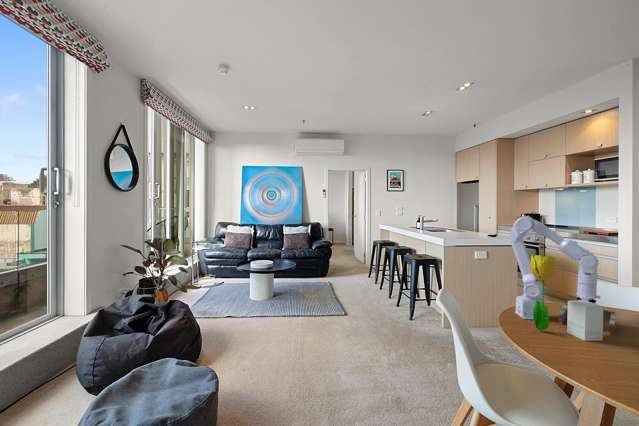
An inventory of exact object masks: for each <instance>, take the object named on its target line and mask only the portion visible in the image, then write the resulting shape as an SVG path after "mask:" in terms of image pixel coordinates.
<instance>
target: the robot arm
mask: <svg viewBox="0 0 639 426" xmlns="http://www.w3.org/2000/svg"><path fill="white" fill-rule="evenodd" d="M530 231H531V232H533V233H538V234H541V235H542V236H544V237H545V238H547V239H549V240H550V241H551V242H553V243H554V244H556V245H558V250H559V251H561V253H563V254H565V255H566V256H568V257H569V258H571V259H572V260H573V261H576V262H578V265H579V266H578V267H579V269H578V271H577V290H576V291H577V292H576V296H577V298H576V300H584V301H588V302H591V303H595V304H597V300H596V299H599V300H601V295H597V293H598V291H597V290H598V266H599V264H600V262H599V259H598V257H597V256H596V255H595V254H594V253H592V252H590V250H589V249H585V248H584V247H582V246H581V245H579V244H578V241H576V240H572V239H564V238H563V237H562V236H560V235H559V234H557V233H556V232H555V231H554V230H552V229H551V228H549V227H548V226H547V225H545V224H544V223H542V222H540V221H538V220H536V219H534V218H533V217H531V216H527V215H526V216H521V217H519V218H517V219H516V220H515V222H514V223H512V228H511V230H510V233H509V236H508V237H509V241H510V244H511V247H512V249H513V253H514V256H515V258H516V261H517V263H518V267H519V270H520V272H521V276H522V282H523V283H522V284H523V294H522V295H517V296H516V299H515V311H514V313H515V314H516V315H518V316H519V317H520V318H522V319H524V320H534V316H533V309H534V306H535V304H536V302H537V300H539V301H541V302H542V303H543V294H542V292H543V285H542V281H541V280H539V279H537V278H536V277H535V276H534V275H533V274H532V272H531V270H530V262H531V258H530V256H529V253H528V250H527V247H526V245H525V242H524V237H525V236H526V234H527V233H529V232H530Z"/></svg>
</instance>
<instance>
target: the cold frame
mask: <svg viewBox="0 0 639 426" xmlns="http://www.w3.org/2000/svg"><path fill="white" fill-rule="evenodd" d="M567 315H568V302H564V304H563V306H562V307H561V309H560V310H559V312H558V325H561V324H562V325H563V323H564V322H565V320H566V319H567ZM616 317H617V314H616V311H612V310H611V311H609V310H605V309H603V324H609V325H608V326H609V337H614V334H615V327H616Z"/></svg>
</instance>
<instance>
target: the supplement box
mask: <svg viewBox="0 0 639 426" xmlns="http://www.w3.org/2000/svg"><path fill="white" fill-rule="evenodd" d="M567 303H568V315H567V317H566V319H567V320H566V321H567V322H566V323H567V324H566V325H567V326H566V328H567V329H566V333H567V334H569V335H571V336H573V337H576V338H577V339H580V340H582V341H585V342H593V341H595V342H596V341H599V342H600V341H603V339H604V338H603V337H604V335H603V334H604V323H603V310H604V305H600V304H597V303H591V302H588V301H584V300H577V299H576V300H567Z"/></svg>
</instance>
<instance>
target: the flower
mask: <svg viewBox="0 0 639 426" xmlns="http://www.w3.org/2000/svg"><path fill="white" fill-rule="evenodd" d="M530 257H531V258H530V261H531V262H530V270H531V272H532V274H533V275H534V276H535V277H536V278H537V279H538V280H539V281H540V282H541V283H542V285H543V290H542V296H543V303H542V302H541V301H539V300H537V302H536V304H535V306H534V309H533V316H534V319H533V321H534V325H535V328H536V329H538V330H540V332H543V330H546V329H548V327H549V326H550V315H549V311H548V307H547V306H546V305H545V304H544V302H545V301H544V300H545V281H549V280H550V279H552V278H553V277H554V276H555V275H556V273H557V258H556V257H554V256H552V255H549V254H545V255H540V254H539V255H537V254H535V255H533V254H531V256H530Z"/></svg>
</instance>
